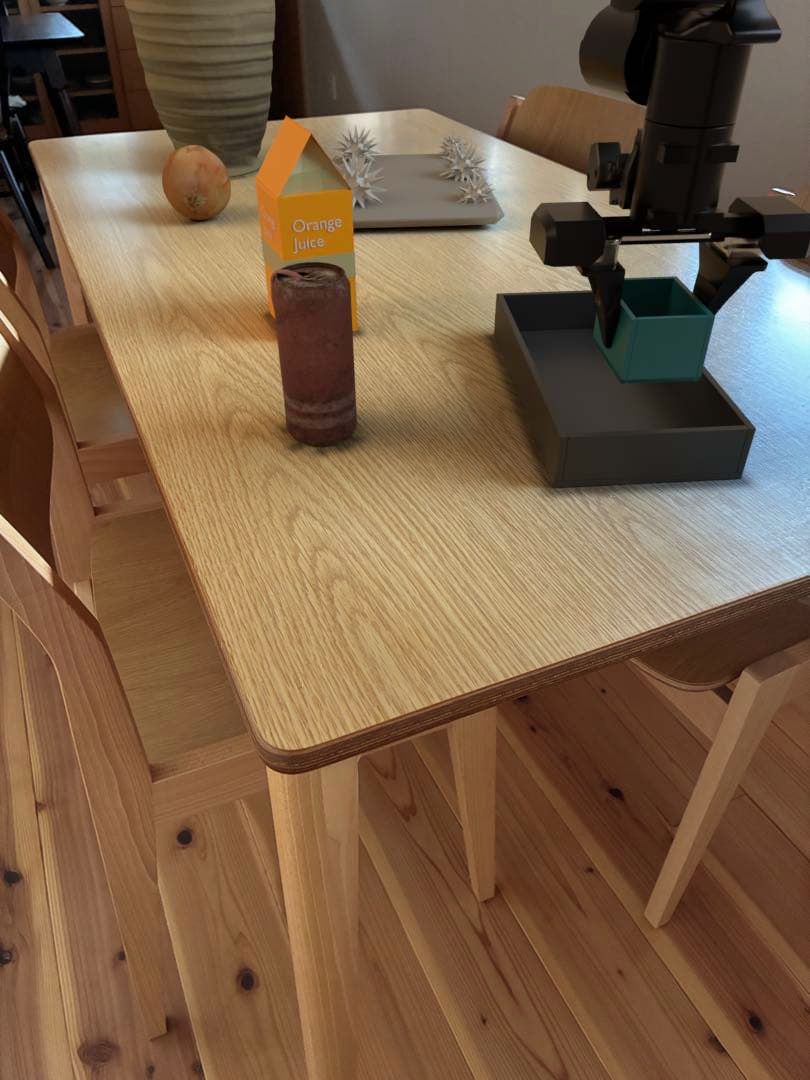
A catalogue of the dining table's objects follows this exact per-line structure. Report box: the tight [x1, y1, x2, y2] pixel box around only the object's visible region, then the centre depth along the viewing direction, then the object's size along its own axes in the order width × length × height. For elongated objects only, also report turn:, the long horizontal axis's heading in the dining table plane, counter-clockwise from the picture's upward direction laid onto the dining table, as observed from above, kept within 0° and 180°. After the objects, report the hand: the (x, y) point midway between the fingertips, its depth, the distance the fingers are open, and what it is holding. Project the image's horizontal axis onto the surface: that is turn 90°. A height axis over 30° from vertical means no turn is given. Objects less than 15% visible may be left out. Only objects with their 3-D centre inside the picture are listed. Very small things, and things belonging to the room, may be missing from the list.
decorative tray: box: [330, 123, 506, 229], centre depth 124 cm, size 35×26×10 cm
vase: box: [123, 0, 276, 178], centre depth 134 cm, size 25×24×30 cm
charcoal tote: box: [493, 289, 757, 488], centre depth 74 cm, size 15×29×5 cm, turn 4°
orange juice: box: [254, 115, 359, 333], centre depth 83 cm, size 8×9×20 cm
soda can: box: [270, 262, 358, 447], centre depth 66 cm, size 6×6×14 cm
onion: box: [161, 145, 232, 221], centre depth 117 cm, size 10×10×10 cm
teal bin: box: [593, 275, 716, 384], centre depth 61 cm, size 6×8×5 cm
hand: (647, 344), depth 62 cm, fingers closed on teal bin, 6 cm apart
